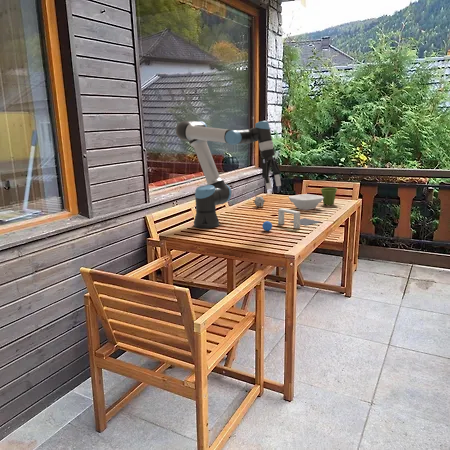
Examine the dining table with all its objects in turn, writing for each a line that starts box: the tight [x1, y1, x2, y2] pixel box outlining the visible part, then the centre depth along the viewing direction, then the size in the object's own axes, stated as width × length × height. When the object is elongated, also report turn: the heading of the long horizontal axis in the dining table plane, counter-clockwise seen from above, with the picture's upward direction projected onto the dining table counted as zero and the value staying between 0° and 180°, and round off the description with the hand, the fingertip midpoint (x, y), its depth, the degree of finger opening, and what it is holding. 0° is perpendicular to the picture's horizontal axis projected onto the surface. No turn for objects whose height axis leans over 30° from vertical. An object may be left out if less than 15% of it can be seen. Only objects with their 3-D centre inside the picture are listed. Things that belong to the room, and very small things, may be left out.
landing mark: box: [289, 217, 321, 226], centre depth 249 cm, size 13×13×1 cm
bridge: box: [277, 207, 301, 229], centre depth 240 cm, size 3×14×9 cm, turn 37°
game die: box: [253, 195, 266, 208], centre depth 296 cm, size 9×8×10 cm
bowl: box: [288, 193, 324, 211], centre depth 285 cm, size 21×21×9 cm
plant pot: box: [320, 187, 338, 206], centre depth 298 cm, size 12×12×11 cm
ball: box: [262, 220, 273, 232], centre depth 230 cm, size 6×6×6 cm
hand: (274, 187), depth 230 cm, fingers open, 13 cm apart
